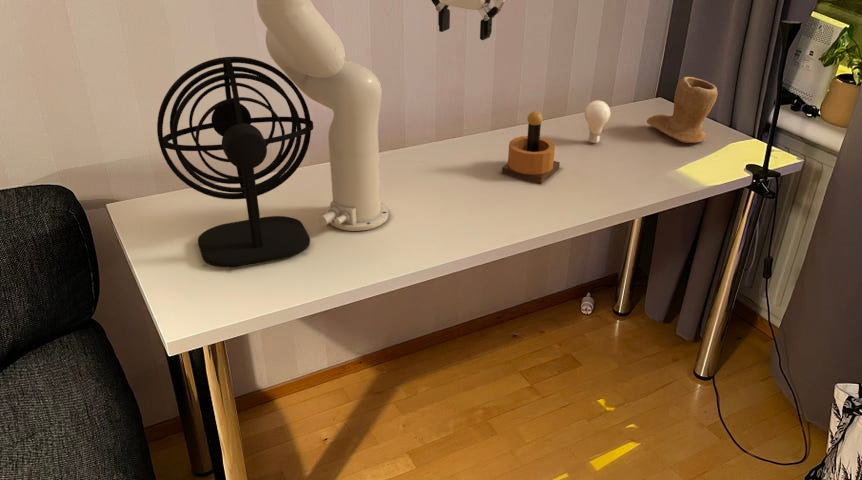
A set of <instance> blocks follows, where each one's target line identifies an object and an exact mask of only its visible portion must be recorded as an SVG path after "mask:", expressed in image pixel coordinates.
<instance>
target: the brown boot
mask: <svg viewBox="0 0 862 480" xmlns="http://www.w3.org/2000/svg"><path fill="white" fill-rule="evenodd" d="M717 97H718V88H717V86H716V85H715V84H713V83H711V82H709V81H707V80H704V79H702V78H697V77H695V76H694V77H693V76H684V77H682V78H681V79H680V80H679V81H678V83H677V85H676V89H675V92H674V97H673V98H674V100H673V112H672V115H670V114H665V113H664V114H663V113H662V114H661V113H660V114H655V115H653V116H651V117H650V116H649V118H647V119H646V123H647V124H648V125H650V126H651V127H653V128H655V129H656V130H658V131H660V132H661V133H663V134H664V135H667V136H669V137H670V138H672V139H675V140H677V141H679V142H682V143H685V144H695V143H701V142H704V141H705V140H706V139H707V138H708V136H707V134H706V133H705V132H704V131H703V129H702V125H703V123H704V121H705V119H706V118H707V116H708V115H709V114H710V112H711V110H712V108H713V107H714V105H715V103H716V101H717Z"/></svg>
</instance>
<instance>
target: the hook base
mask: <svg viewBox="0 0 862 480" xmlns="http://www.w3.org/2000/svg"><path fill="white" fill-rule="evenodd" d="M559 169H560V161H556V160H554V162H553V169H552V170H550V171H549V172H547V173H543V174H535V175H531V174H523V173H519V172H516V171H514V170H512V169H511V168H510V167H509V166H508V162H507V163H506V164H505V165H503V166H502V167H501V174H503V175H507V176H510V177H514V178H517V179H522V180H525V181H529V182H532V183H536V184H540V185H542V184H543V183H544V182H545V181H546V180H547V179H549V178H550V177H551V176H552V175H553V174H554V173H556V172H557V171H559Z"/></svg>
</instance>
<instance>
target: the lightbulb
mask: <svg viewBox="0 0 862 480" xmlns="http://www.w3.org/2000/svg"><path fill="white" fill-rule="evenodd" d="M611 115H612V114H611V108H610V106H609V104H607V102H605V101H603V100H599V99H597V100H593V101H590V102H589V103H588V104H587V105H586V107H585V109H584V118H585V121H586V123H587V125H588V131H589V136H588V141H589V142H590V143H591V144H597V143H599V142H600V139H601V134H602V131H603V129H604V127H605V125H606V124H607V123H608V121H609V120H610V118H611Z"/></svg>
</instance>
